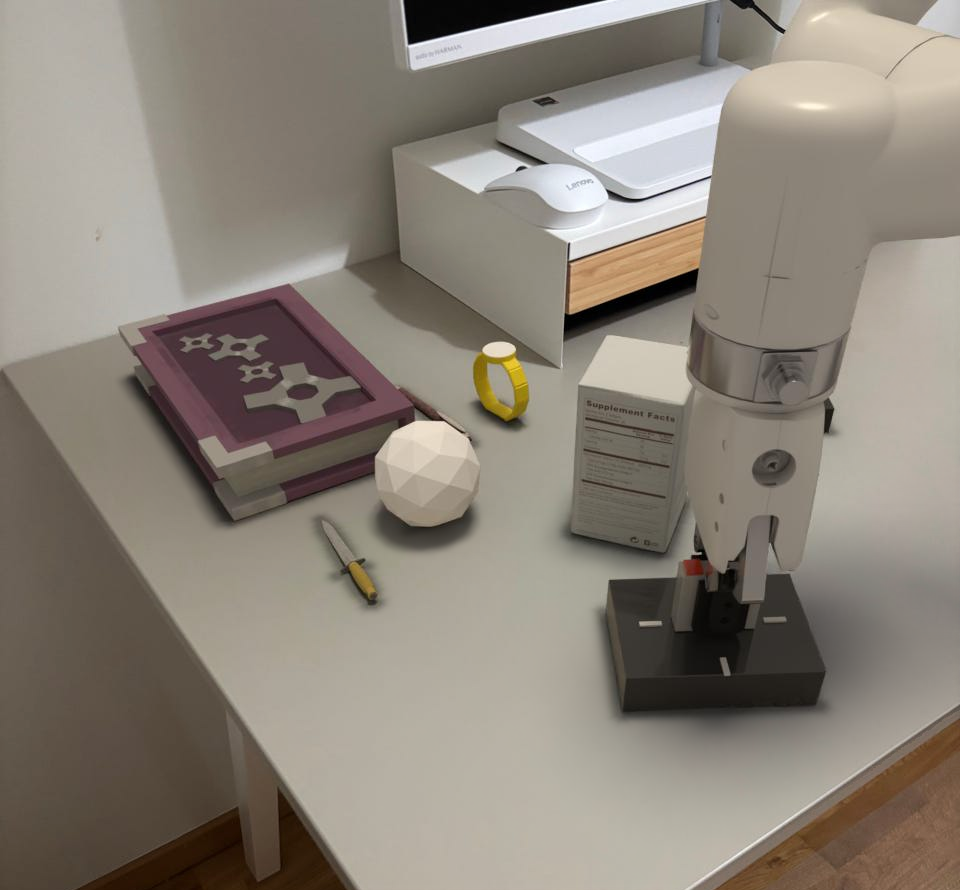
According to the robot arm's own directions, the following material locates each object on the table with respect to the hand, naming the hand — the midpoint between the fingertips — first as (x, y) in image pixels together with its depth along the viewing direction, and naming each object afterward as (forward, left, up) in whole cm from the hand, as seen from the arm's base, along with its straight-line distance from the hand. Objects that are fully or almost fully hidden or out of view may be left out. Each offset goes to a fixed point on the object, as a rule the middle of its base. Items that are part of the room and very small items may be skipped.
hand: (713, 616), depth 63 cm
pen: (+18, -30, -4) cm, 35 cm away
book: (+32, -31, -4) cm, 45 cm away
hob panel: (0, 0, -4) cm, 4 cm away
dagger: (+24, -11, -4) cm, 27 cm away
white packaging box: (+3, -15, -4) cm, 16 cm away
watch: (+12, -30, -4) cm, 33 cm away
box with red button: (0, 0, 0) cm, 0 cm away
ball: (+18, -16, -4) cm, 24 cm away
